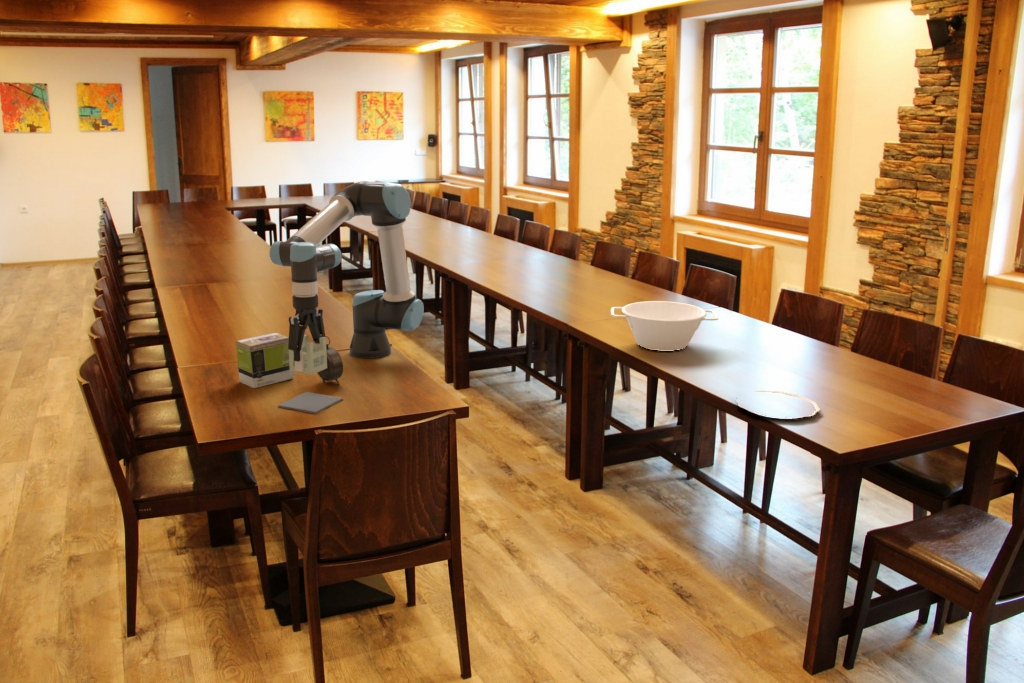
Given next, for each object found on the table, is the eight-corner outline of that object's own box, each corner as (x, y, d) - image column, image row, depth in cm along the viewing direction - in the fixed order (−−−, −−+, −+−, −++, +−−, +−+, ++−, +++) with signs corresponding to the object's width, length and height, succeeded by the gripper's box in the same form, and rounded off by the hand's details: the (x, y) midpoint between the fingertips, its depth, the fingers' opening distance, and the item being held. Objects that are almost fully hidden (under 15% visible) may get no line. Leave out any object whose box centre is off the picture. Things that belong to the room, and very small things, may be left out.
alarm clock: (345, 385, 294) (343, 337, 290) (331, 388, 290) (329, 340, 286) (325, 377, 301) (323, 331, 297) (312, 381, 298) (309, 334, 293)
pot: (609, 355, 330) (611, 318, 326) (609, 333, 361) (610, 299, 357) (719, 359, 327) (722, 322, 323) (709, 336, 357) (712, 302, 353)
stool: (305, 364, 278) (304, 334, 276) (327, 368, 275) (325, 337, 272) (289, 371, 271) (288, 340, 269) (311, 374, 268) (310, 343, 265)
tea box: (278, 372, 306) (276, 331, 302) (294, 379, 299) (291, 337, 295) (238, 382, 296) (235, 339, 292) (253, 389, 289) (250, 345, 285)
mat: (306, 393, 285) (306, 391, 285) (342, 399, 280) (342, 398, 280) (278, 407, 273) (278, 405, 273) (315, 413, 267) (315, 412, 267)
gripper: (315, 287, 278) (318, 357, 284) (272, 299, 259) (276, 374, 265) (335, 289, 275) (338, 360, 281) (293, 302, 256) (297, 378, 262)
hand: (308, 367), depth 273 cm, fingers closed on stool, 8 cm apart
